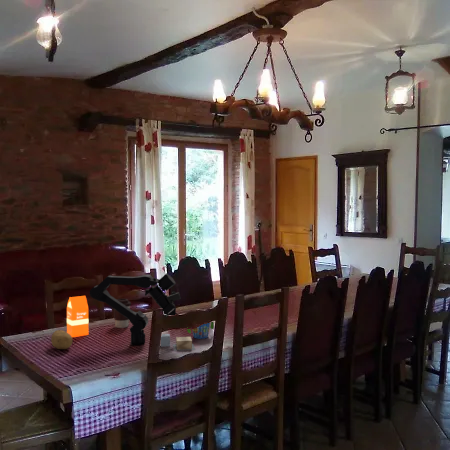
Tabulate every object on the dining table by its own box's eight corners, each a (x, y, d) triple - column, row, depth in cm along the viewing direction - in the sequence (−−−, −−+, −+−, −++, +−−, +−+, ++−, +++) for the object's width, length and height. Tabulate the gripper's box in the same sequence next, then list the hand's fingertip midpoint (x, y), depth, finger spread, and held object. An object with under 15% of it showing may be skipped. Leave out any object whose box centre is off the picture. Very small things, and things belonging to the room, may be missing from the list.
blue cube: (159, 347, 242) (159, 337, 242) (159, 344, 247) (159, 334, 247) (169, 347, 243) (170, 336, 243) (169, 344, 248) (169, 334, 248)
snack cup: (208, 333, 269) (208, 314, 268) (219, 337, 260) (219, 318, 259) (182, 337, 260) (182, 317, 259) (192, 342, 251) (192, 321, 251)
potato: (55, 354, 230) (55, 336, 229) (47, 346, 241) (47, 330, 241) (77, 350, 235) (77, 333, 235) (68, 343, 247) (67, 327, 247)
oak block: (177, 349, 237) (177, 341, 237) (176, 345, 244) (176, 337, 244) (191, 348, 239) (191, 340, 238) (190, 344, 245) (190, 336, 245)
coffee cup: (111, 325, 283) (110, 298, 283) (128, 323, 288) (128, 297, 287) (114, 329, 274) (114, 302, 274) (132, 327, 279) (132, 300, 278)
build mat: (174, 351, 236) (174, 350, 236) (172, 345, 246) (172, 344, 246) (195, 350, 237) (195, 349, 237) (193, 344, 247) (193, 343, 247)
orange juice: (66, 334, 264) (66, 296, 263) (83, 331, 269) (82, 294, 268) (72, 337, 258) (71, 298, 257) (88, 334, 263) (88, 296, 262)
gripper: (172, 286, 238) (193, 312, 238) (172, 285, 257) (191, 309, 257) (154, 302, 237) (175, 327, 237) (154, 299, 255) (174, 323, 255)
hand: (179, 321), depth 246 cm, fingers open, 9 cm apart
